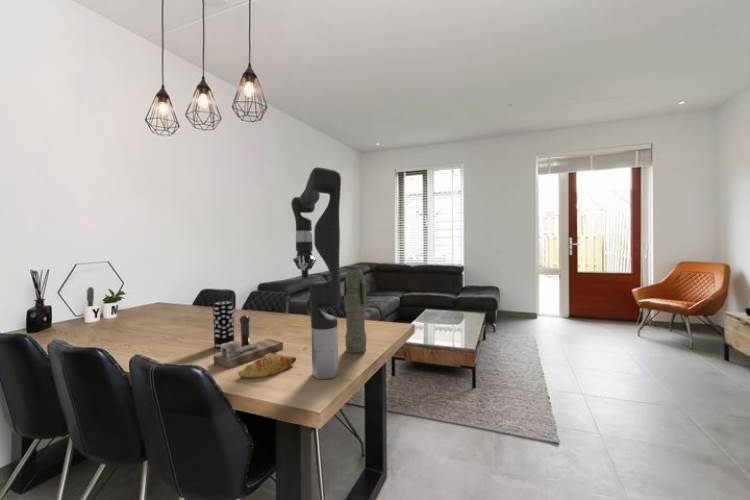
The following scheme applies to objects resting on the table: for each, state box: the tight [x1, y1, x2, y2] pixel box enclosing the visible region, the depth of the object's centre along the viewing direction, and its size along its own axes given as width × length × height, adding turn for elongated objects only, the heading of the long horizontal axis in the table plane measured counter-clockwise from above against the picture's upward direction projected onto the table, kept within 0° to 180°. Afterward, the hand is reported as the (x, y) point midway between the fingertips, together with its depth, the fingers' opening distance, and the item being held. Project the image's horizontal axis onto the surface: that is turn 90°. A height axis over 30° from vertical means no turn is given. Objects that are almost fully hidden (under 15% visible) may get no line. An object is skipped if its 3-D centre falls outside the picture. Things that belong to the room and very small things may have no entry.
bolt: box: [239, 314, 259, 352], centre depth 136 cm, size 12×4×14 cm, turn 146°
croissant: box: [237, 352, 297, 379], centre depth 122 cm, size 21×10×8 cm, turn 128°
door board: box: [213, 338, 284, 369], centre depth 138 cm, size 26×10×8 cm, turn 146°
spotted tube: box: [212, 300, 235, 350], centre depth 151 cm, size 8×8×20 cm
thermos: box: [343, 268, 368, 355], centre depth 142 cm, size 9×12×35 cm
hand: (304, 278), depth 153 cm, fingers closed
